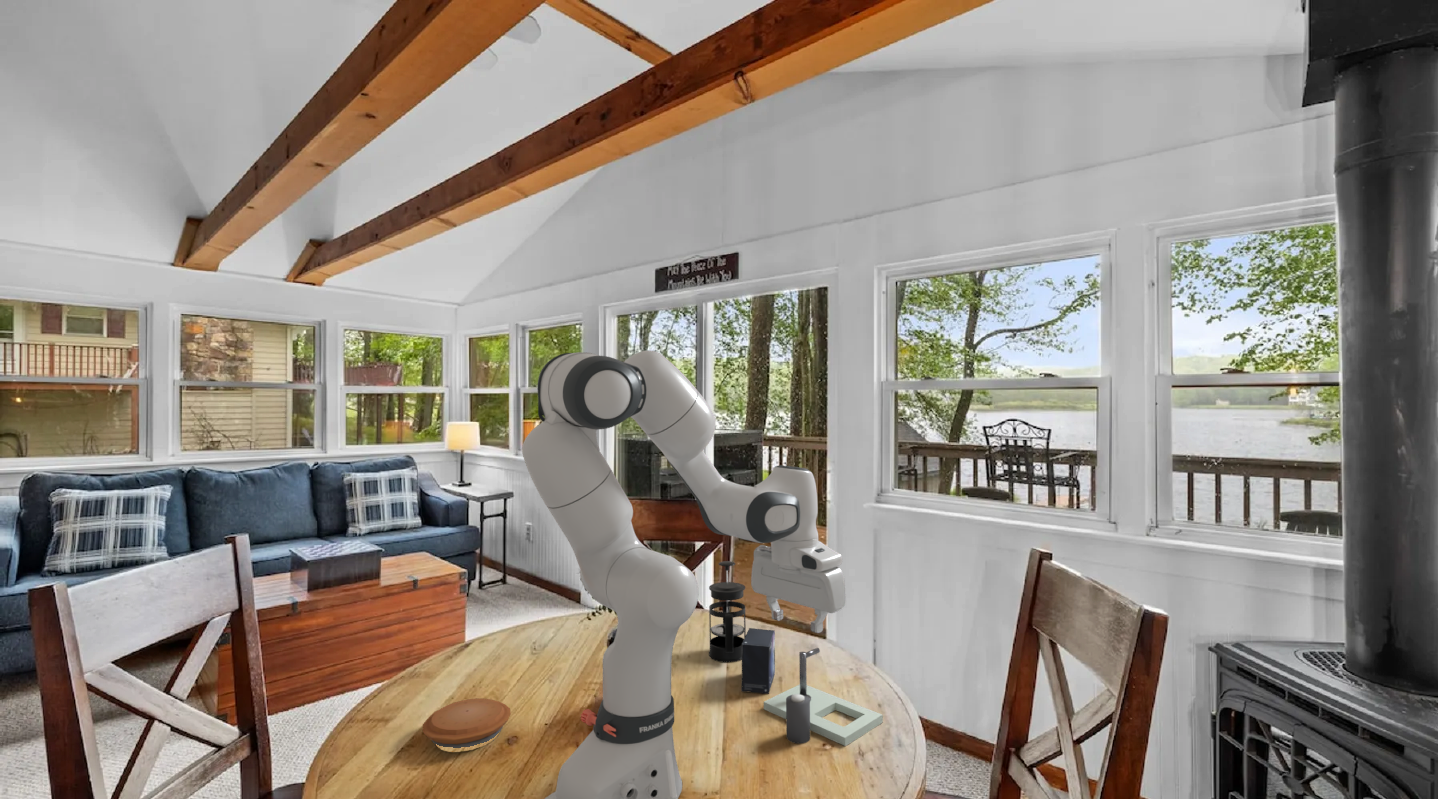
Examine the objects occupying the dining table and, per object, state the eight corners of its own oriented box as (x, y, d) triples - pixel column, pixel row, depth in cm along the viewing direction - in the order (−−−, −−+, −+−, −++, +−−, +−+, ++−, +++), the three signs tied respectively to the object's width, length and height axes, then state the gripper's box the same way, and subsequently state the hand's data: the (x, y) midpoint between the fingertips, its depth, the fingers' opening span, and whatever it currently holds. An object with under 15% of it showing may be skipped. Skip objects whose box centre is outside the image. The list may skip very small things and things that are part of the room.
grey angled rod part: (804, 704, 130) (804, 657, 130) (792, 699, 133) (791, 652, 133) (824, 694, 135) (823, 648, 135) (812, 689, 137) (811, 644, 137)
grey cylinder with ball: (800, 746, 117) (799, 704, 117) (781, 737, 121) (781, 697, 121) (815, 737, 120) (814, 697, 120) (796, 729, 124) (796, 689, 124)
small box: (770, 695, 138) (770, 645, 138) (740, 692, 139) (740, 643, 140) (776, 674, 148) (775, 628, 149) (748, 672, 150) (747, 627, 150)
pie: (508, 711, 132) (508, 687, 132) (513, 749, 117) (512, 721, 117) (425, 726, 126) (425, 700, 126) (419, 767, 112) (419, 738, 112)
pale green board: (845, 746, 117) (845, 737, 117) (763, 709, 132) (763, 701, 132) (882, 722, 126) (882, 714, 126) (802, 690, 140) (802, 683, 140)
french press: (708, 647, 165) (707, 557, 165) (744, 646, 166) (743, 556, 166) (709, 666, 154) (709, 569, 154) (749, 664, 154) (748, 568, 154)
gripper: (743, 546, 126) (744, 616, 126) (828, 564, 112) (830, 644, 112) (764, 540, 131) (766, 608, 131) (849, 557, 116) (851, 633, 116)
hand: (796, 625), depth 121 cm, fingers open, 8 cm apart
